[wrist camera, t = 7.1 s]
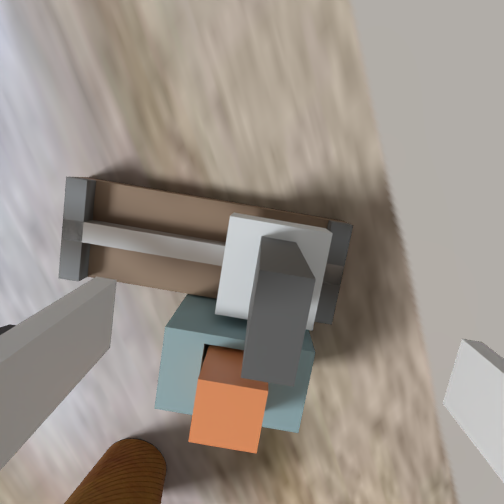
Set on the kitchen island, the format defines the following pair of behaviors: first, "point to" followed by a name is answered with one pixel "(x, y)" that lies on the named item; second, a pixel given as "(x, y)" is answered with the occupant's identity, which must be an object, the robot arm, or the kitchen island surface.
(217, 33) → the kitchen island surface
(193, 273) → the rail board
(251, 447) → the button
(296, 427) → the cabinet
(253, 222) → the carriage
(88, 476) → the disposable coffee cup
